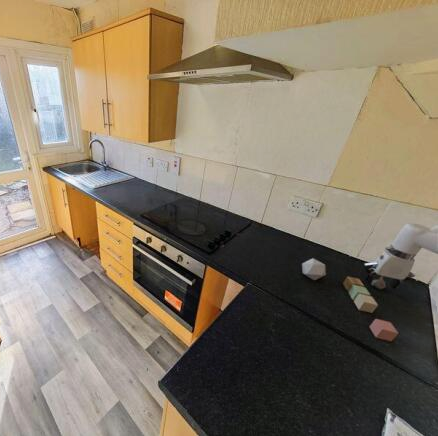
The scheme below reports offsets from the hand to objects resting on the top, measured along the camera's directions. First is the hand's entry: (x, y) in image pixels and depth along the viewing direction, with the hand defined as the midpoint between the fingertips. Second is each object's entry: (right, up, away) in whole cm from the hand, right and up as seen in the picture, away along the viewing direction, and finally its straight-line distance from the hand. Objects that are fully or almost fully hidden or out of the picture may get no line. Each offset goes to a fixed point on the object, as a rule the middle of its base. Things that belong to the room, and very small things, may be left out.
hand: (378, 283), depth 100 cm
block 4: (-21, -12, -20) cm, 31 cm away
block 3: (-17, -6, -10) cm, 20 cm away
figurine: (0, -2, +1) cm, 2 cm away
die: (-27, +2, +5) cm, 27 cm away
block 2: (-15, -4, -5) cm, 16 cm away
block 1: (-13, -2, -1) cm, 13 cm away
